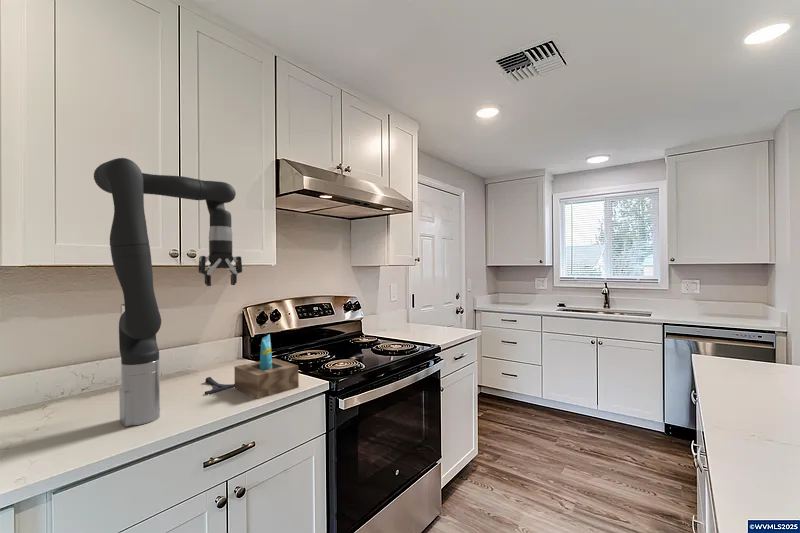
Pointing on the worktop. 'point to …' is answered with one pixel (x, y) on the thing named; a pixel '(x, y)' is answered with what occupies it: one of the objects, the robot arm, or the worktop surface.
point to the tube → (266, 354)
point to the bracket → (217, 386)
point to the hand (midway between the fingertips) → (221, 285)
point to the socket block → (266, 378)
